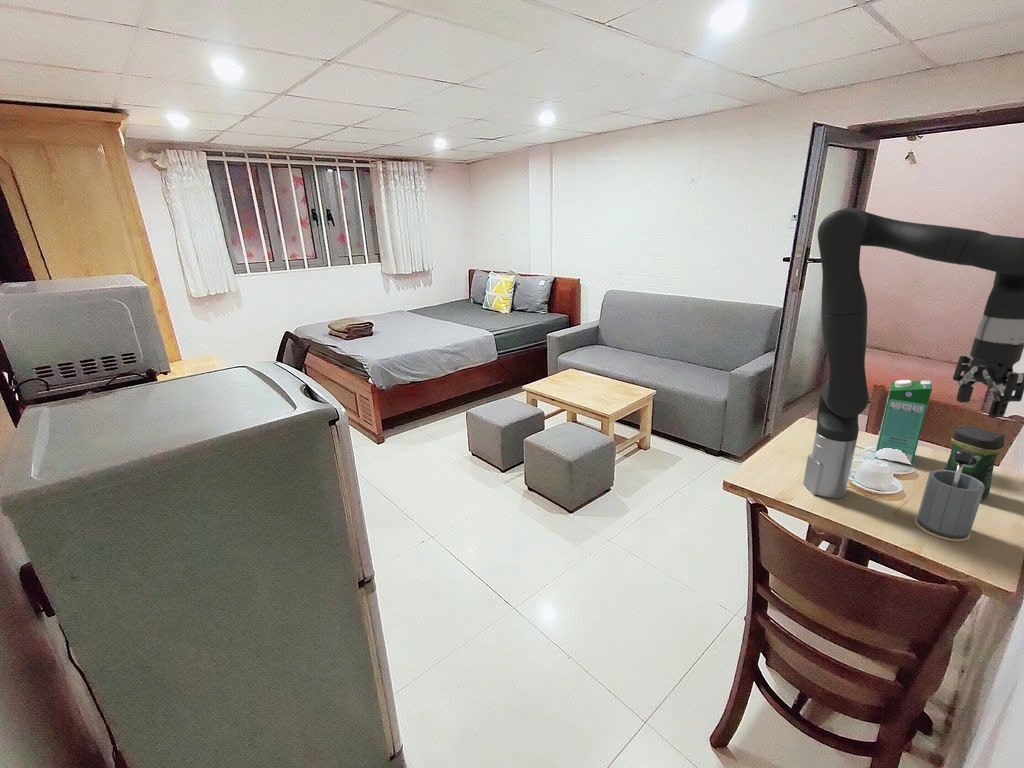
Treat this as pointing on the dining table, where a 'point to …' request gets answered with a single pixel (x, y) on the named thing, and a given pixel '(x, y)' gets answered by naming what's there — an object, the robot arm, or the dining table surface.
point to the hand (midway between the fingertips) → (978, 409)
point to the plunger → (961, 463)
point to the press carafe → (949, 506)
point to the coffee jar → (977, 453)
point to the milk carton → (904, 416)
